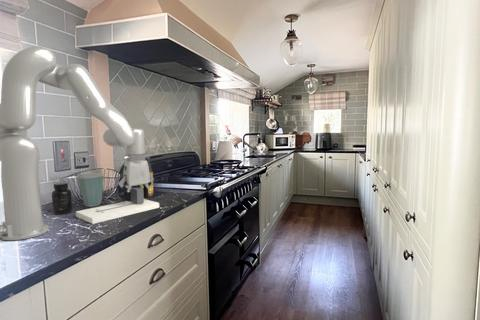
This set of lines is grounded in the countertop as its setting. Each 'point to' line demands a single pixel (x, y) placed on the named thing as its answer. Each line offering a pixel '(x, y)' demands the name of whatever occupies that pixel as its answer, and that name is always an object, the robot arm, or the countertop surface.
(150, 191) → the sauce bottle
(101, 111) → the robot arm
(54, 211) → the supplement bottle
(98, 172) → the disposable coffee cup
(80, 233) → the countertop surface
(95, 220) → the board
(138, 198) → the fader tab
